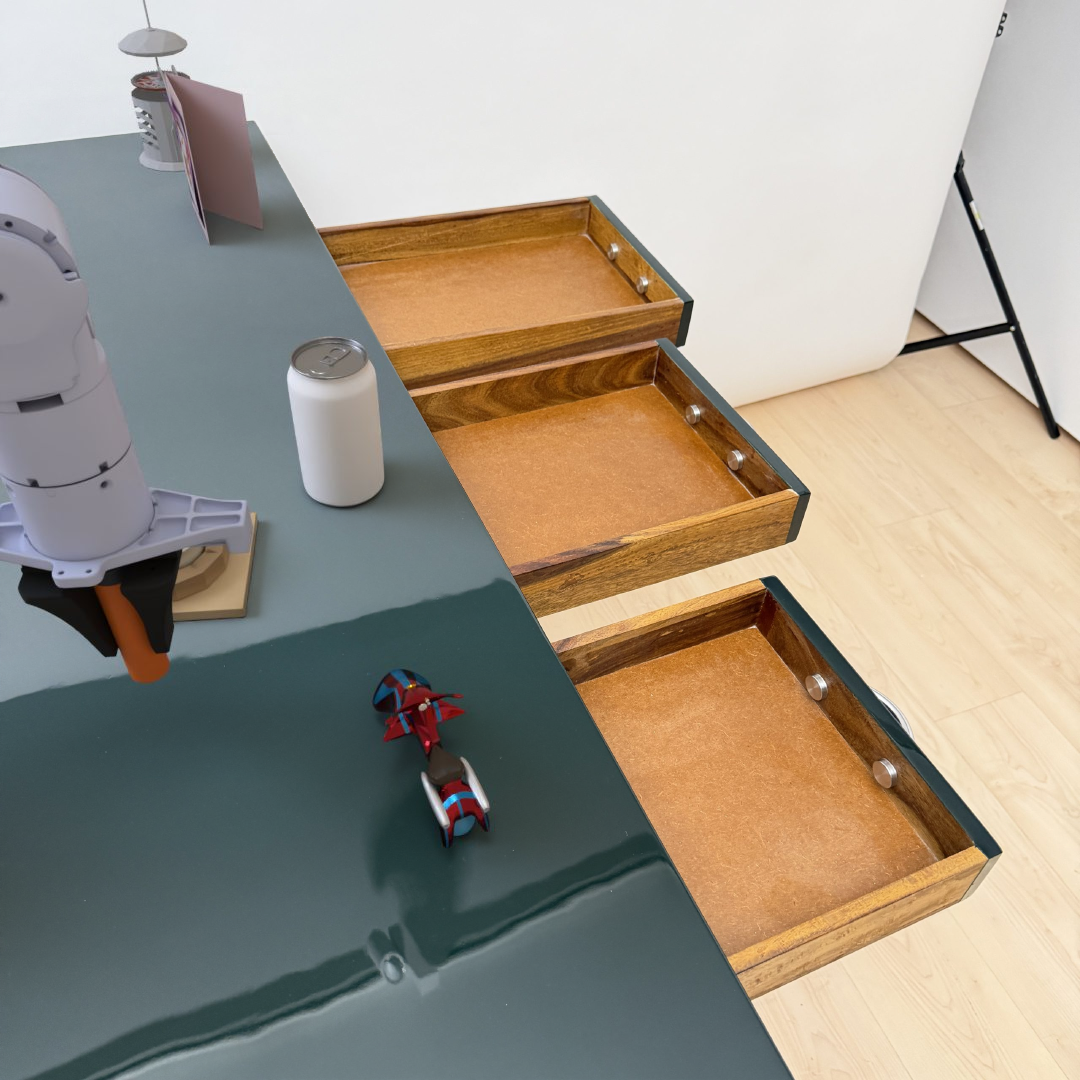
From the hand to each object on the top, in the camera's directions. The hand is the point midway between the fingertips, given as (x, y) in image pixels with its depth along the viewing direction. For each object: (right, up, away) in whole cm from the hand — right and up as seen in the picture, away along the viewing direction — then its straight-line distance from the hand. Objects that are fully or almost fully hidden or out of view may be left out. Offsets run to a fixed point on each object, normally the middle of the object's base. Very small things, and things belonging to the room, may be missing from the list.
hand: (139, 641), depth 50 cm
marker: (0, -2, +2) cm, 2 cm away
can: (+6, +10, +23) cm, 26 cm away
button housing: (-4, +3, +15) cm, 16 cm away
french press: (-26, +56, +69) cm, 93 cm away
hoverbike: (+16, -8, +4) cm, 18 cm away
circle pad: (-4, +5, +13) cm, 15 cm away
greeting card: (-15, +44, +57) cm, 73 cm away
